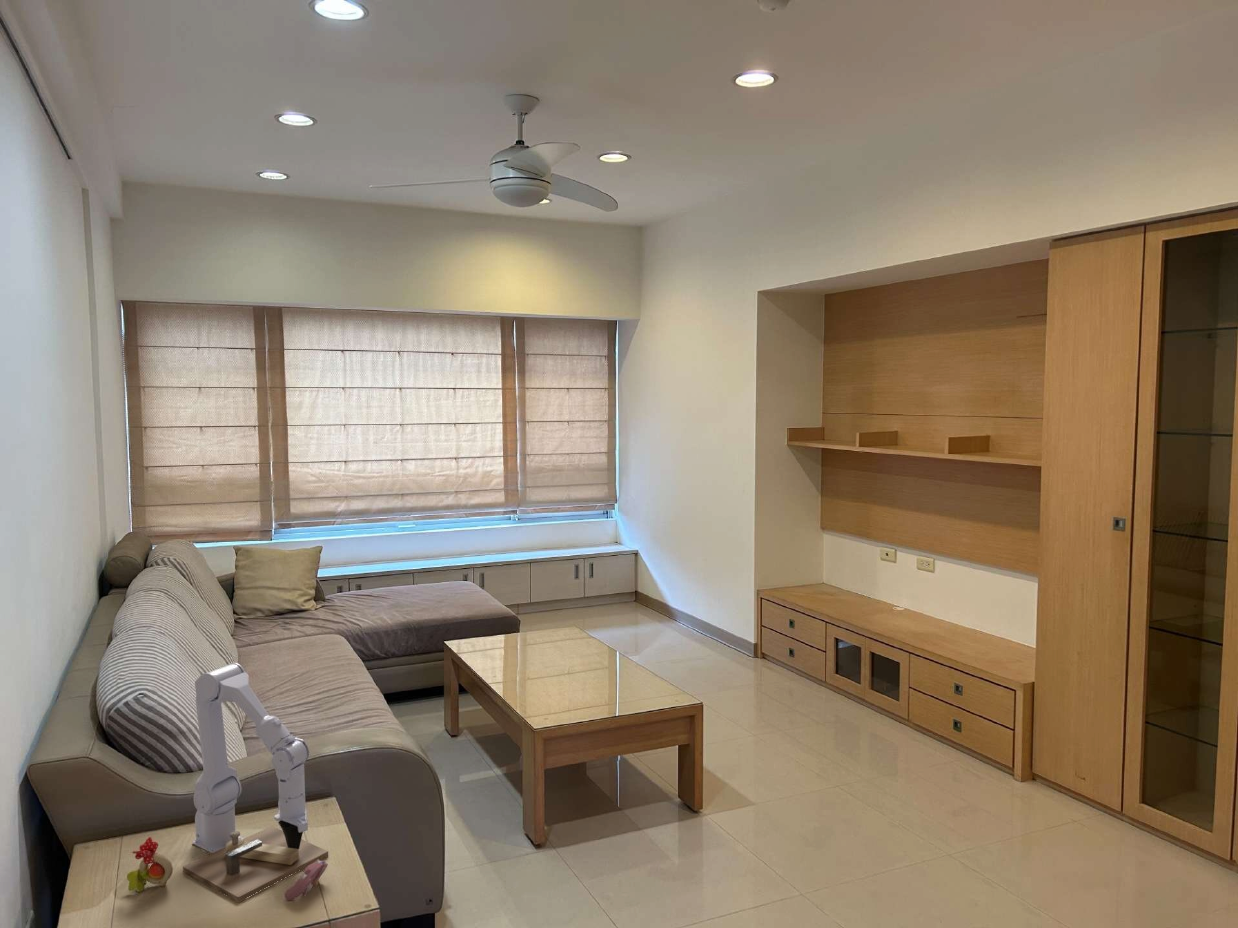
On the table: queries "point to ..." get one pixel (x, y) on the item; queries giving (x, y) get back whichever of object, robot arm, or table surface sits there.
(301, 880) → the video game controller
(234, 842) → the wooden link
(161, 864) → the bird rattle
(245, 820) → the table surface
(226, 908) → the table surface
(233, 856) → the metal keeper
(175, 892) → the table surface
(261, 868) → the walnut board
